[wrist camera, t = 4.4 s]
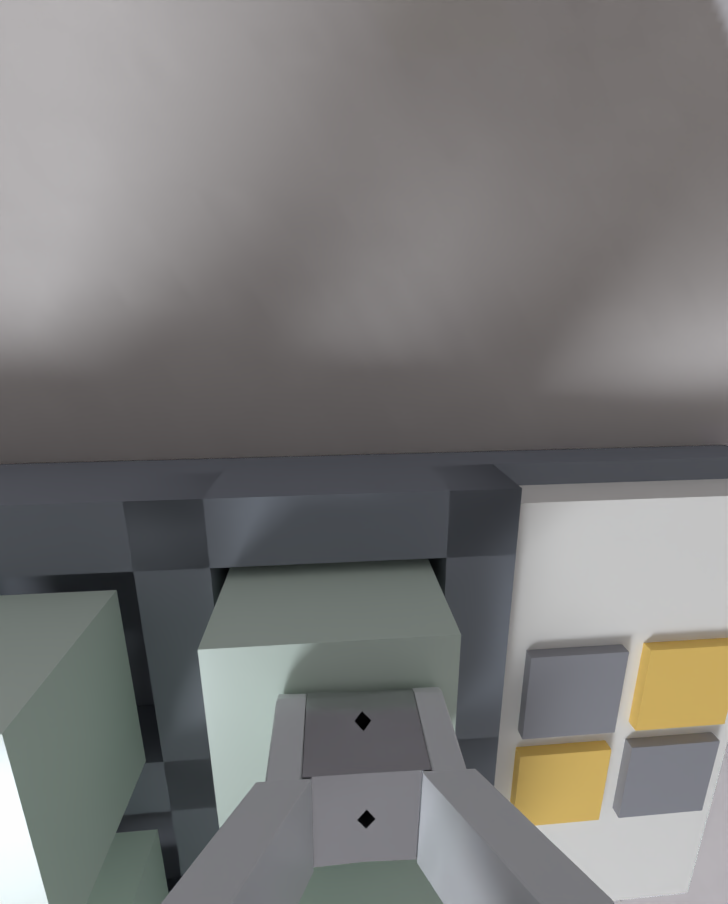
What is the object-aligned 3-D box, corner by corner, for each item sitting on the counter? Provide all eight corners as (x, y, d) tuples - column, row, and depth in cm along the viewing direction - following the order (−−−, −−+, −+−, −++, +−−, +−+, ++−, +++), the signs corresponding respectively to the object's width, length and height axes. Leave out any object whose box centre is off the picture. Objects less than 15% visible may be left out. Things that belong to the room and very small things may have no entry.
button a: (421, 544, 11) (460, 634, 8) (416, 693, 13) (449, 825, 9) (236, 551, 11) (197, 649, 8) (249, 704, 12) (221, 845, 9)
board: (724, 445, 13) (834, 478, 10) (641, 828, 17) (704, 928, 14) (-103, 467, 12) (-245, 513, 9) (21, 886, 16) (-48, 1012, 13)
